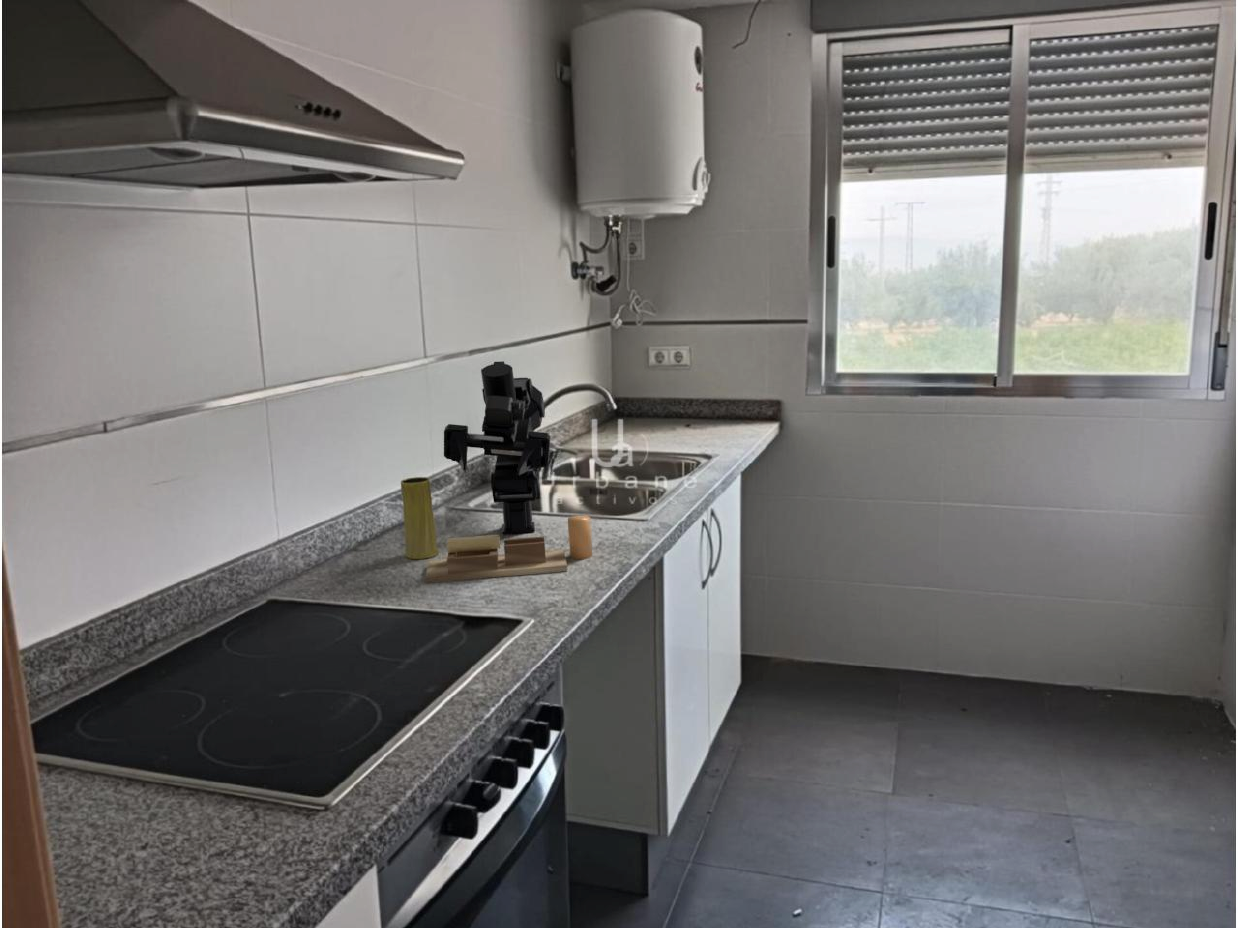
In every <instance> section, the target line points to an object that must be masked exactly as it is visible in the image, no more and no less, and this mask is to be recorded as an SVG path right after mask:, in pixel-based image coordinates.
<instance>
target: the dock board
mask: <svg viewBox="0 0 1238 928" xmlns="http://www.w3.org/2000/svg"><path fill="white" fill-rule="evenodd" d="M503 543H504V545H503V550H504V551H503V552H504V553H502V554H499V549H488V550H476V551H463V552H451V553H448V552H447V558H441V559H439V558H438V559H430V560H429V561H428V566H427V569H426V573H425V577H424V580H425V581H424V582H425V583H427V584H428V583H438V582H439V583H441V582H450V581H462V580H463V581H464V580H474V579H475V580H476V579H486V578H489V579H490V578H500V577H501V578H502V577H512V576H522V575H535V574H546V573H548V574H549V573H561V572H568V564H567V559H566V554H565V549H553V550H552V549H551V550H546V546H545V544H546V543H545V537H544V536H542V535H541V536H533V537H532V536H531V537H521V538H517V537H516V538H507V539H503Z"/></svg>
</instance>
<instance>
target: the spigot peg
mask: <svg viewBox="0 0 1238 928" xmlns="http://www.w3.org/2000/svg"><path fill="white" fill-rule="evenodd" d="M591 527H592V526H591V517H590V516H588V515H584V514H583V515H572V516H570V517H567V530H568V543H569V545H568V546H569V558H571V559H572V560H573V559H574V560H585V559H589V558H592V557H593V547H592V546H593V545H592V529H591Z"/></svg>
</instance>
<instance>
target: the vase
mask: <svg viewBox="0 0 1238 928" xmlns="http://www.w3.org/2000/svg"><path fill="white" fill-rule="evenodd" d="M400 489H401V497H402V503H403V504H402V507H403V509H402V511H403V521H404V542H405V543H404V545H405V557H406V558H407V559H410V560H424V559H430V558H433V557H435V556H438V554H439V553H440V552H439V549H438V542H437V532H436V523H435V516H434V509H433V501H432V491H431V482H430V478H429V477H426V476H425V477H424V476H423V477H422V476H420V477H419V476H418V477H410V478H404V479H402V480H401V481H400Z"/></svg>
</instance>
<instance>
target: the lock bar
mask: <svg viewBox="0 0 1238 928" xmlns="http://www.w3.org/2000/svg"><path fill="white" fill-rule="evenodd" d="M500 535H501V534H488V535H476V536H464V537H463V536H461V537H451V538H449V537H447V540H446V547H447V554H448V553H451V552H463V551H476V550H488V549H498V550H499V549H501V541H500V540H501V539H500V538H501V536H500Z"/></svg>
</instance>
